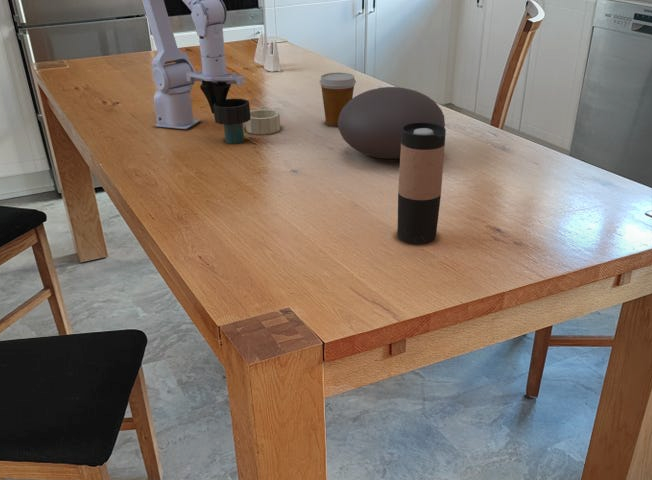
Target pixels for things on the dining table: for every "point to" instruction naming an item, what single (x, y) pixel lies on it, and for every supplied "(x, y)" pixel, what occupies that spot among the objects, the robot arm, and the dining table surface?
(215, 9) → the robot arm
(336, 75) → the disposable coffee cup
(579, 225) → the dining table surface
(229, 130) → the espresso cup
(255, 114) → the ivory ring
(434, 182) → the travel mug
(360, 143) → the smooth stone
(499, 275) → the dining table surface
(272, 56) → the shaker set
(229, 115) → the black ring
